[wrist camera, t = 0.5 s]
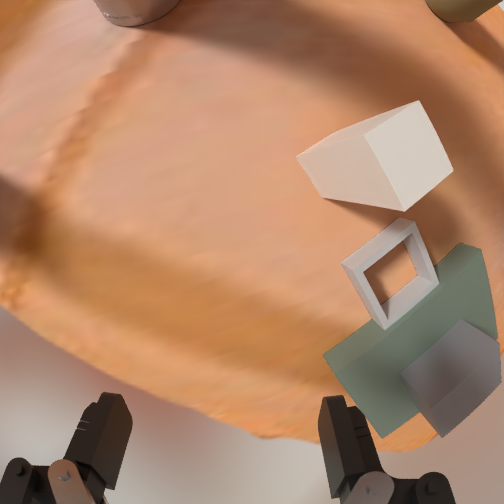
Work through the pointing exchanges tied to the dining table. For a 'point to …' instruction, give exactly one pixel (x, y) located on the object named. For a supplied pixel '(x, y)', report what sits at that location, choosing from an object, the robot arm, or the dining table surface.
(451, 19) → the squeeze bottle
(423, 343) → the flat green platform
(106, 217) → the dining table surface
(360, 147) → the tall white pillar block
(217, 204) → the dining table surface
